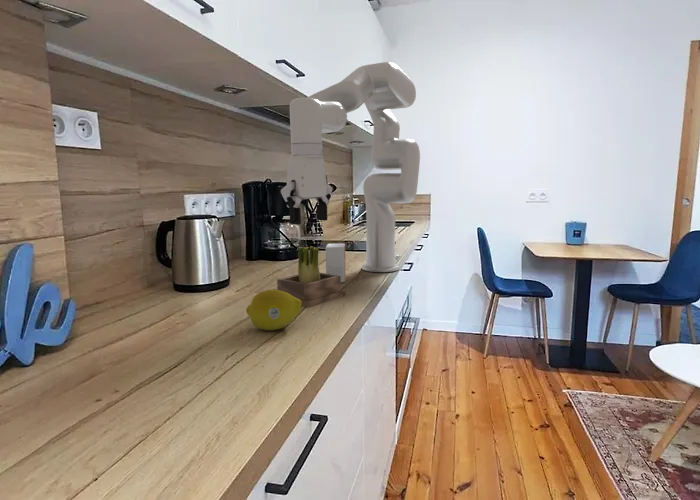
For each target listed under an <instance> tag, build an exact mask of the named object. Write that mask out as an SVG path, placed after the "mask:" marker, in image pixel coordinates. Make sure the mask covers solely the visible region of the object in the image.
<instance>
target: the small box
mask: <svg viewBox="0 0 700 500" xmlns="http://www.w3.org/2000/svg"><path fill="white" fill-rule="evenodd" d="M325 273H326V274H332V275H338V276H341V283H345V282H346V243H327V244H326V247H325Z"/></svg>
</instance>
